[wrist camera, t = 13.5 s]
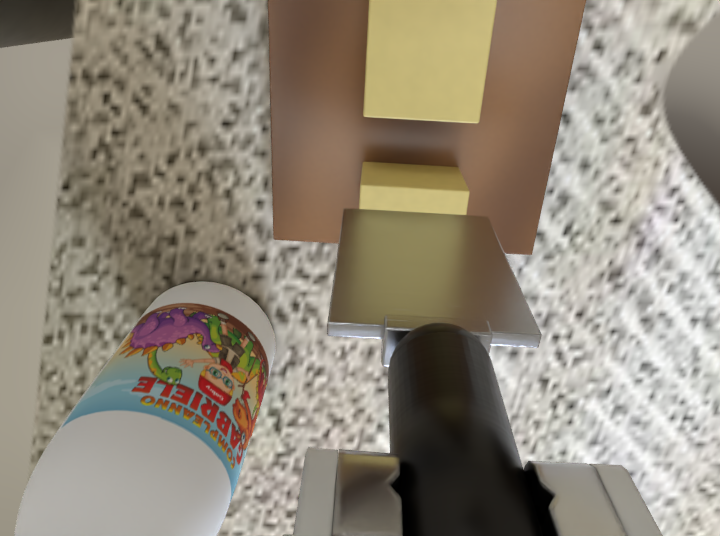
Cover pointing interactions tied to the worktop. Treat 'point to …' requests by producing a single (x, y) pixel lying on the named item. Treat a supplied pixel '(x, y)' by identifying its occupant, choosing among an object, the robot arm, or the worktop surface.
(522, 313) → the knife
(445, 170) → the butter slice
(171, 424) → the milk bottle
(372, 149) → the board
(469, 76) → the butter block
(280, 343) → the worktop surface
